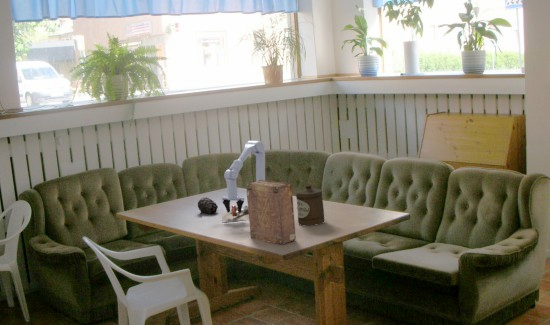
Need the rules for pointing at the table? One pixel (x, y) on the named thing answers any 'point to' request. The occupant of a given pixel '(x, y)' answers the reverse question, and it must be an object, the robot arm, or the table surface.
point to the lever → (235, 212)
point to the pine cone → (207, 206)
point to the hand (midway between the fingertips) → (234, 212)
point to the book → (271, 211)
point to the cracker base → (229, 216)
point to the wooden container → (310, 206)
